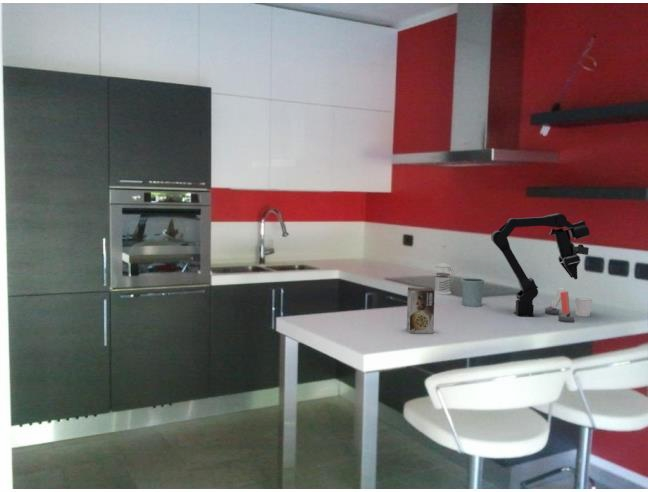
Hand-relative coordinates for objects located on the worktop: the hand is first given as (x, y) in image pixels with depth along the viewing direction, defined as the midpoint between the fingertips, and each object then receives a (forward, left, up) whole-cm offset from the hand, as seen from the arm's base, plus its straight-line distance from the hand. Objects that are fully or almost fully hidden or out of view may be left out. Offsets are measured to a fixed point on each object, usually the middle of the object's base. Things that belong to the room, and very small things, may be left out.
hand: (574, 278), depth 252 cm
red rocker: (-5, -6, -15) cm, 17 cm away
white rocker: (-5, +9, -15) cm, 18 cm away
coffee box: (-70, -29, -17) cm, 78 cm away
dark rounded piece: (-5, -6, -17) cm, 19 cm away
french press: (-41, +61, -17) cm, 75 cm away
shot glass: (+8, +8, -17) cm, 21 cm away
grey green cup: (-36, +26, -17) cm, 47 cm away
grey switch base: (-5, +9, -17) cm, 20 cm away
